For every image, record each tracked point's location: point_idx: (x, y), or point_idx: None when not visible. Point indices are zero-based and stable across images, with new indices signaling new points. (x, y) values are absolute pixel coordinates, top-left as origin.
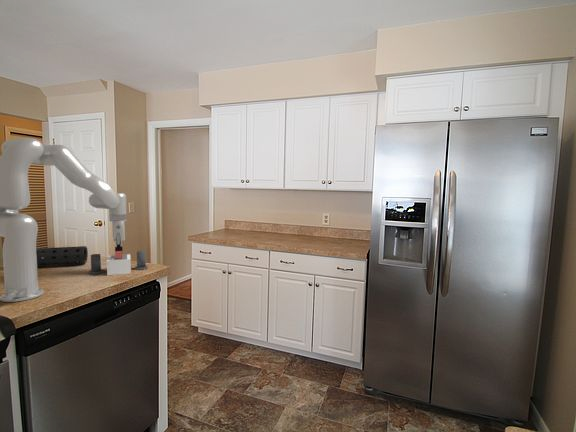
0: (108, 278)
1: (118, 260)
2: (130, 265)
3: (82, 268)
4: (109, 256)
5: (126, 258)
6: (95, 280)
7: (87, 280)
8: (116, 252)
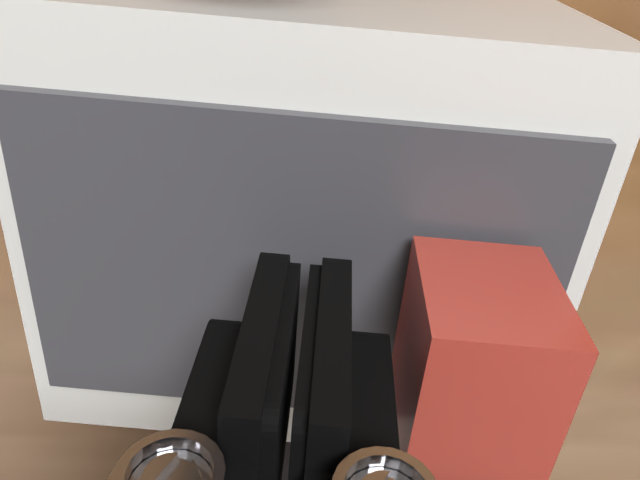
0: (637, 296)
1: (576, 301)
2: (597, 25)
3: (5, 474)
4: (119, 406)
5: (594, 156)
6: (622, 404)
7: (564, 456)
8: (553, 464)
